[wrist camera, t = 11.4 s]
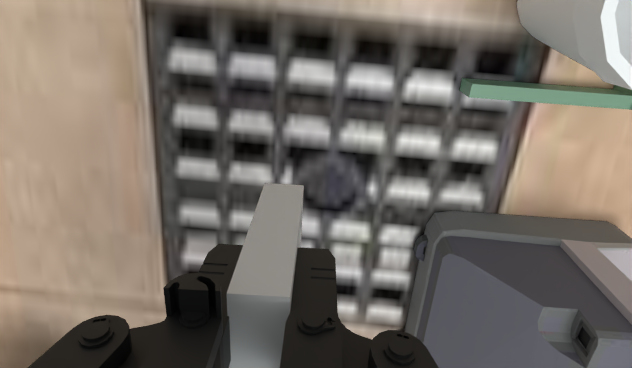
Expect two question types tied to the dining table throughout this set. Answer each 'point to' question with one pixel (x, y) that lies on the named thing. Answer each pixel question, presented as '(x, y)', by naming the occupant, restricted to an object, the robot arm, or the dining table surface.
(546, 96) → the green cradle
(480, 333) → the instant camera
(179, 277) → the robot arm
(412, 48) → the dining table surface
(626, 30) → the foam cup
